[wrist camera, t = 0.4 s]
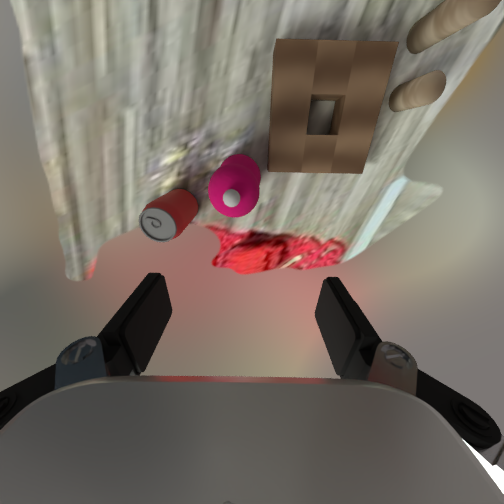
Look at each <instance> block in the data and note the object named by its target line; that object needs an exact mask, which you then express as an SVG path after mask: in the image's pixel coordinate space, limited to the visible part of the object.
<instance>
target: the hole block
mask: <svg viewBox="0 0 504 504" xmlns="http://www.w3.org/2000/svg"><path fill="white" fill-rule="evenodd" d="M398 44H399V42H388V41H349V40H310V39H276V43H275V47H274V52H273V70H272V89H271V108H270V127H269V146H268V165H267V170H268V171H269V172H300V173H353V174H362V173H363V169H364V166H365V162H366V159H367V155H368V151H369V148H370V144H371V141H372V137H373V133H374V130H375V126H376V123H377V119H378V116H379V112H380V108H381V105H382V101H383V98H384V94H385V90H386V87H387V83H388V80H389V76H390V72H391V69H392V65H393V62H394V58H395V54H396V51H397V47H398ZM311 100H330V101H335V106H334V111H333V117H332V122H331V128H330V133H329V135H306V132H307V125H308V117H309V110H310V102H311Z"/></svg>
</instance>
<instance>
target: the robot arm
mask: <svg viewBox="0 0 504 504" xmlns="http://www.w3.org/2000/svg"><path fill="white" fill-rule="evenodd" d="M171 314H172V307H171V302H170V298H169V294H168V290H167V286H166V282H165V277H164V276H163V275H161V274H160V273H148V274H147V276H146V277H145V278H144V279H143V281H142V282H141V283H140V284H139V286H138V287H137V288H136V289H135V290H134V292H133V293H132V294H131V295H130V297H129V298H128V299H127V300H126V301H125V303H124V304H123V305H122V306H121V308H120V309H119V310H118V311H117V312H116V314H115V315H114V316H113V317H112V319H111V320H110V321H109V322H108V324H107V325H106V326H105V327H104V328H103V330H102V331H101V332H100V333H99V335H98V336H97V337H95V336H89V337H84V338H81V339H78V340H77V341H75V342H73V343H71V344H70V345H68V346H67V347H66V348H65V349H64V350H63V351H62V352H61V353H60V354H59V356H58V357H57V360H56V364H54V365H52V366H50V367H48V368H46V369H44V370H42V371H40V372H38V373H36V374H34V375H32V376H31V377H28V378H27V379H25V380H23V381H21V382H19V383H17V384H15V385H13V386H11V387H9V388H7V389H5V390H3V391H1V392H0V504H504V436H503V435H502V434H501V432H500V429H499V427H498V426H497V424H496V423H495V421H494V420H493V419H492V418H491V417H490V416H489V414H488V413H486V411H485V410H483V409H482V408H481V407H480V406H479V405H477V404H476V403H474V402H473V401H471V400H470V399H468V398H466V397H465V396H463V395H461V394H460V393H458V392H456V391H454V390H453V389H451V388H449V387H448V386H446V385H444V384H443V383H441V382H439V381H438V380H436V379H434V378H433V377H431V376H429V375H428V374H426V373H424V372H422V371H420V370H419V369H418V368H417V363H416V361H415V359H414V357H413V356H412V355H411V354H410V353H409V352H408V351H407V350H406V349H404V348H403V347H401V346H399V345H397V344H395V343H392V342H382V340H381V339H380V338H379V336H378V334H377V333H376V331H375V330H374V328H373V327H372V325H371V324H370V322H369V321H368V319H367V318H366V316H365V315H364V313H363V312H362V310H361V309H360V307H359V306H358V304H357V303H356V302H355V301H354V300H353V299H352V297H351V295H350V294H349V293H348V291H347V289H346V288H345V286H344V285H343V284H342V282H341V281H340V279H339V278H338V277H327V278H326V279H324V281H323V284H322V288H321V291H320V295H319V299H318V303H317V306H316V310H315V318H316V321H317V324H318V326H319V329H320V332H321V334H322V337H323V340H324V342H325V345H326V348H327V350H328V353H329V356H330V359H331V361H332V364H333V367H334V369H335V372H336V374H337V375H340V377H341V379H331V378H296V377H293V378H292V377H243V376H239V377H238V376H140V373H141V372H144V371H145V369H146V367H147V365H148V363H149V361H150V359H151V356H152V355H153V352H154V350H155V348H156V346H157V344H158V342H159V340H160V338H161V336H162V333H163V331H164V329H165V327H166V325H167V323H168V321H169V319H170V317H171Z"/></svg>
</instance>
